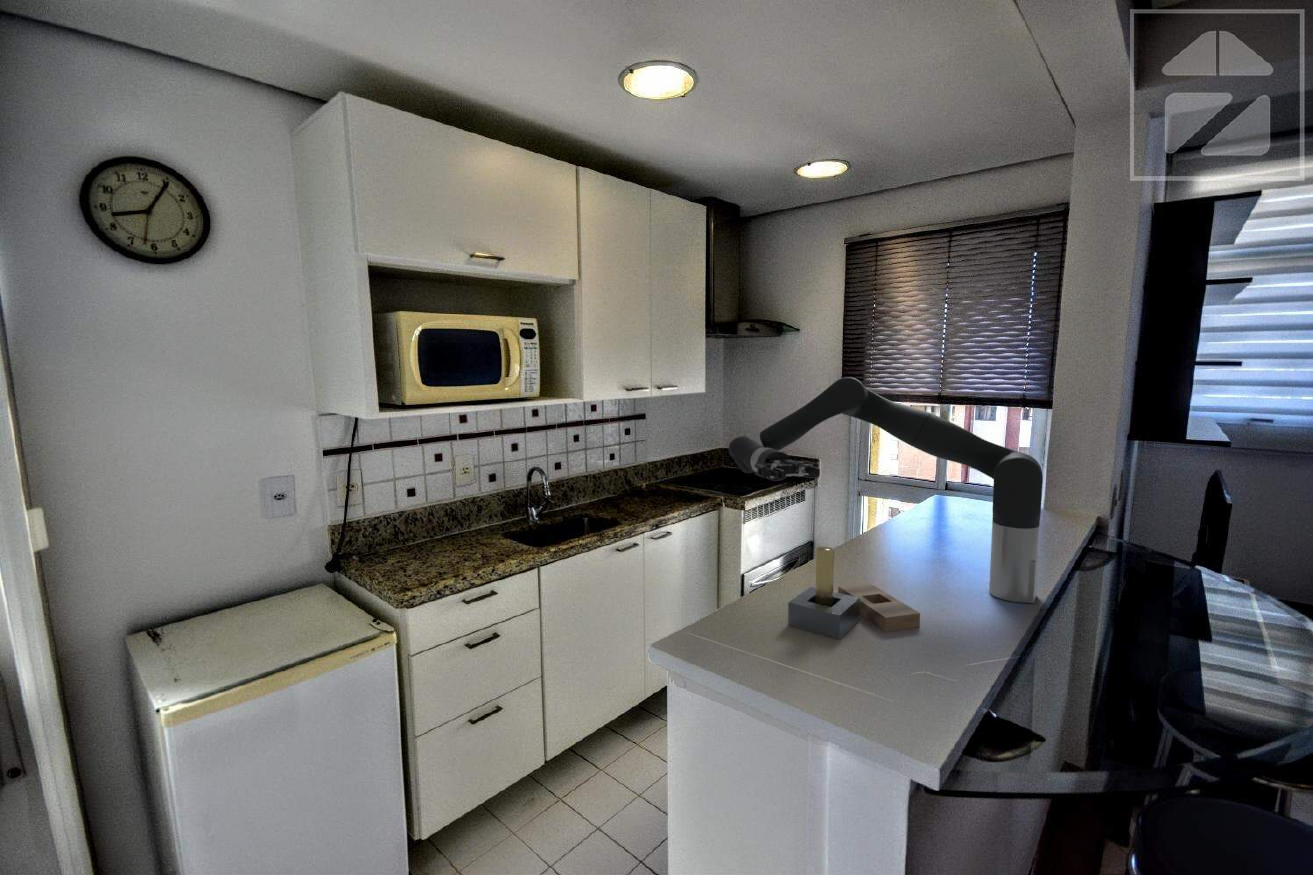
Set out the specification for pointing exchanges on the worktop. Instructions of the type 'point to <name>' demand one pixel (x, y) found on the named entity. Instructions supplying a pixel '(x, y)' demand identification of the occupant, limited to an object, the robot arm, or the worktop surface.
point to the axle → (824, 576)
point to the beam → (882, 607)
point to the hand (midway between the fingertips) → (800, 474)
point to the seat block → (823, 614)
